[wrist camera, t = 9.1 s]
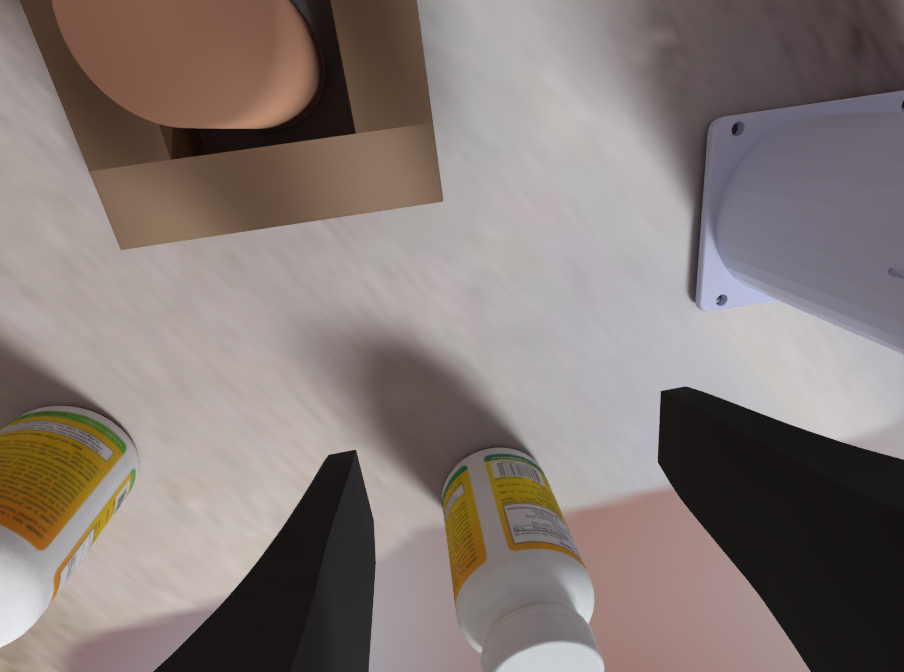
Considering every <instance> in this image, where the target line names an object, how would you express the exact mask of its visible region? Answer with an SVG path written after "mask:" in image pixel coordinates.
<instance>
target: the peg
mask: <svg viewBox="0 0 904 672" xmlns="http://www.w3.org/2000/svg"><path fill="white" fill-rule="evenodd" d="M52 5H53V9H54V13H55V16H56V20H57V23H58V25H59V28H60V31H61V33H62V36H63V38H64V40H65V42H66V44H67V46H68V48H69V49H70V51H71V53H72V55H73V56H74V58H75V59H76V61H77V62H78V64H79V65H80V67H81V68H82V69H83V71H84V72H85V73H86V74H87V76H88V77H89V78H90V79H91V80H92V81H93V82H94V83H95V84H96V85H97V86H98V87H99V88H100V89H101V90H102V91H103V92H104V93H105V94H106V95H107V96H108V97H110V98H111V99H112V100H113V101H115V102H116V103H117V104H119V105H120V106H122V107H123V108H125V109H126V110H128V111H130V112H132V113H134V114H136V115H138V116H139V117H141V118H144V119H146V120H149V121H152V122H154V123H158V124H162V125H166V126H170V127H178V128H218V129H281V128H286V127H290V126H293V125H295V124H297V123H299V122H300V121H302V120H303V119H305V118H306V117H307V116H308V115H309V114H310V113H311V112H312V111H313V110H314V108H315V107H316V105H317V103H318V102H319V100H320V97H321V95H322V92H323V88H324V83H325V61H324V57H323V52H322V49H321V46H320V44H319V41H318V39H317V37H316V35H315V34H314V32H313V30H312V29H311V27H310V26H309V25H308V23H307V22H306V21H305V19H304V18H303V17H302V16H301V14H300V13H299V12H298V10H297V9H296V8H295V7H294V5H293V4H292V3H291V2H290V0H52Z"/></svg>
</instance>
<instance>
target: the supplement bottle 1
mask: <svg viewBox="0 0 904 672" xmlns="http://www.w3.org/2000/svg"><path fill="white" fill-rule="evenodd" d="M138 474H139V457H138V453H137V450H136V448H135V446H134V444H133V443H132V441H131V440H130V438H129V437H128V436H127V434H126V433H125V432H124V431H123V430H122V429H121V428H119V427H118V426H117V425H116V424H114V423H113V422H112V421H110V420H109V419H107V418H105V417H103V416H102V415H100V414H97V413H95V412H92V411H89V410H86V409H83V408H78V407H72V406H48V407H42V408H38V409H35V410H32V411H29V412H27V413H25V414H23V415H21V416H19V417H18V418H16V419H14V420H13V421H12V422H10V423H9V424H8V425H6V426H5V427H4V428H2V429H1V430H0V647H2V646H4V645H6V644H8V643H10V642H12V641H14V640H15V639H17V638H18V637H20V636H21V635H23V634H24V633H25V632H26V631H27V630H28V629H29V628H31V627H32V625H33V624H34V623H35V622H36V621H37V620H38V619H39V617H40V616H41V615H42V613H43V612H44V611H45V610H46V609H47V607H48V606H49V605H50V603H51V602H52V600H53V599H54V597H55V596H56V595H57V593H58V592H59V590H60V589H61V588H62V586H63V585H64V583H65V582H66V580H67V579H68V578H69V576H70V575H71V574H72V572H73V571H74V569H75V568H76V567H77V565H78V564H79V563H80V561H81V560H82V558H83V557H84V556H85V554H86V553H87V552H88V550H89V549H90V547H91V546H92V544H93V543H94V541H95V540H96V539H97V537H98V536H99V534H100V533H101V532H102V530H103V529H104V527H105V526H106V525H107V523H108V522H109V521H110V519H111V518H112V516H113V515H114V514H115V512H116V511H117V509H118V508H119V507H120V505H121V504H122V503H123V501H124V500H125V498H126V497H127V495H128V494H129V492H130V491H131V489H132V488H133V486H134V484H135V482H136V480H137V477H138Z"/></svg>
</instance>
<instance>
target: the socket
mask: <svg viewBox="0 0 904 672" xmlns="http://www.w3.org/2000/svg"><path fill="white" fill-rule="evenodd" d="M330 1H331V6H332V12H333V17H334V22H335V27H336V32H337V38H338V43H339V48H340V53H341V58H342V64H343V69H344V74H345V79H346V84H347V90H348V95H349V100H350V105H351V111H352V116H353V121H354V126H355V131H356V134H350V135H343V136H336V137H329V138H322V139H315V140H308V141H301V142H294V143H286V144H279V145H272V146H265V147H258V148H251V149H244V150H237V151H230V152H223V153H216V154H208V155H205V153H204V150H203V147H202V144H201V140H200V137H199V134H198V131H197V128H178V127H170V126H166V125H162V124H158V123H154V122H152V121H149V120H146V119H144V118H141V117H139V116H138V115H136V114H134V113H132V112H130V111H128V110H126V109H125V108H123V107H122V106H120V105H119V104H117V103H116V102H115V101H113V100H112V99H111V98H110V97H108V96H107V95H106V94H105V93H104V92H103V91H102V90H101V89H100V88H99V87H98V86H97V85H96V84H95V83H94V82H93V81H92V80H91V79H90V78H89V77H88V76H87V74H86V73H85V72H84V71H83V69H82V68H81V67H80V65H79V64H78V62H77V61H76V59H75V58H74V56H73V55H72V53H71V51H70V49H69V48H68V46H67V44H66V42H65V40H64V38H63V36H62V33H61V31H60V28H59V25H58V23H57V20H56V16H55V13H54V9H53V5H52V0H20V2H21V4H22V7H23V9H24V11H25V14H26V16H27V19H28V21H29V24H30V26H31V29H32V31H33V34H34V36H35V39H36V41H37V44H38V46H39V49H40V51H41V53H42V56H43V58H44V61H45V63H46V66H47V68H48V71H49V73H50V76H51V78H52V81H53V83H54V86H55V88H56V91H57V93H58V96H59V98H60V100H61V103H62V105H63V108H64V110H65V113H66V115H67V118H68V120H69V123H70V125H71V128H72V130H73V133H74V135H75V138H76V140H77V142H78V145H79V147H80V150H81V152H82V155H83V157H84V160H85V162H86V165H87V167H88V170H89V172H90V175H91V177H92V180H93V182H94V185H95V187H96V189H97V192H98V194H99V197H100V199H101V202H102V204H103V207H104V209H105V212H106V214H107V217H108V219H109V222H110V224H111V227H112V229H113V232H114V234H115V236H116V239H117V241H118V244H119V246H120V249H121V250H124V249H131V248H137V247H144V246H151V245H157V244H164V243H171V242H177V241H184V240H190V239H197V238H204V237H210V236H217V235H224V234H230V233H237V232H244V231H250V230H257V229H264V228H270V227H277V226H283V225H290V224H297V223H303V222H310V221H317V220H323V219H330V218H337V217H343V216H350V215H357V214H363V213H370V212H376V211H383V210H390V209H396V208H403V207H410V206H416V205H423V204H430V203H436V202H443V195H442V188H441V180H440V173H439V165H438V158H437V150H436V143H435V135H434V128H433V120H432V113H431V105H430V98H429V90H428V83H427V75H426V68H425V60H424V53H423V45H422V38H421V30H420V23H419V15H418V7H417V0H330Z"/></svg>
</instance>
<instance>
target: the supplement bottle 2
mask: <svg viewBox="0 0 904 672" xmlns="http://www.w3.org/2000/svg"><path fill="white" fill-rule="evenodd" d="M442 505H443V514H444V522H445V529H446V536H447V543H448V551H449V558H450V567H451V575H452V583H453V591H454V599H455V607H456V615H457V620H458V623H459V627H460V629H461V631H462V634H463V635H464V637H465V638H466V640H467V641H468V642H469V644H470V645H471V646H472V647H473V648H474V649H475V650H477V651H478V652H479V653H481V666H482V670H483V672H604V663H603V660H602V657H601V654H600V651H599V649H598V646H597V643H596V641H595V638H594V634H593V632H592V629H591V627H590V626H589V624H588V623H589V621H590V619H591V616H592V613H593V607H594V592H593V587H592V583H591V580H590V577H589V574H588V572H587V570H586V567H585V565H584V563H583V561H582V559H581V556H580V554H579V552H578V550H577V547H576V545H575V543H574V541H573V538H572V536H571V534H570V531H569V529H568V527H567V524H566V522H565V520H564V517H563V515H562V513H561V511H560V508H559V506H558V504H557V501H556V499H555V497H554V495H553V492H552V490H551V488H550V485H549V483H548V481H547V479H546V477H545V474H544V472H543V470H542V469H541V467H540V466H539V465H538V463H537V462H536V461H535V460H533V459H532V458H531V457H530V456H528V455H526V454H524V453H523V452H520V451H518V450H514V449H511V448H489V449H484V450H481V451H478V452H476V453H473V454H471V455H469V456H468V457H466V458H465V459H463V460H462V461H461V462H459V463H458V464H457V465H456V467H455V468H454V469H453V470H452V472H451V473H450V474H449V476H448V478H447V480H446V482H445V484H444V488H443V492H442Z"/></svg>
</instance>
